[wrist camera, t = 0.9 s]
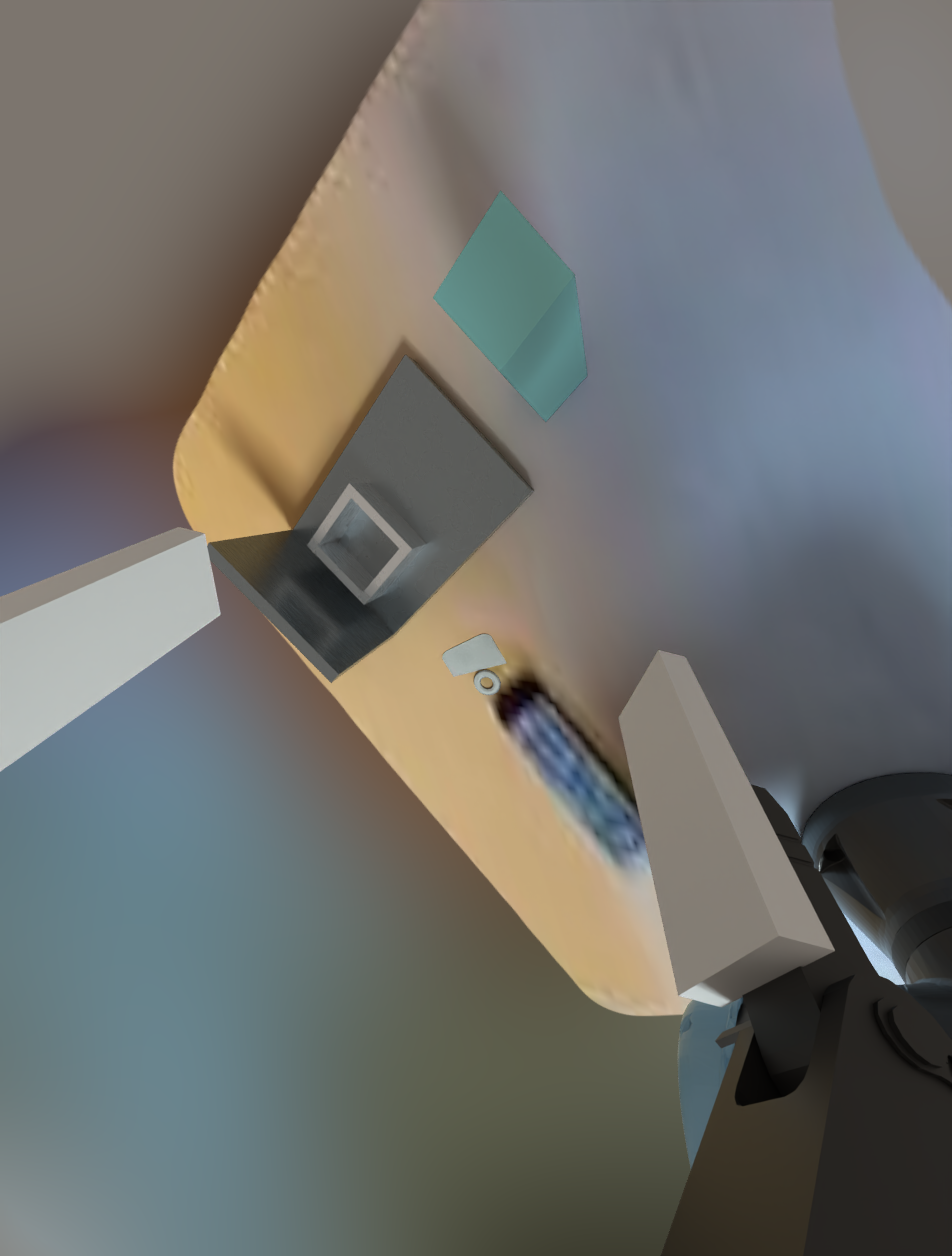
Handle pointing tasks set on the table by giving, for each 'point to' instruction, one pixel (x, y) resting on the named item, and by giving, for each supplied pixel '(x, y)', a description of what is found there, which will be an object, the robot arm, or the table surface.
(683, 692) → the robot arm
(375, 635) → the cup bracket
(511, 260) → the teal block
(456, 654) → the mounting bracket
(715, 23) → the table surface
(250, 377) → the table surface
